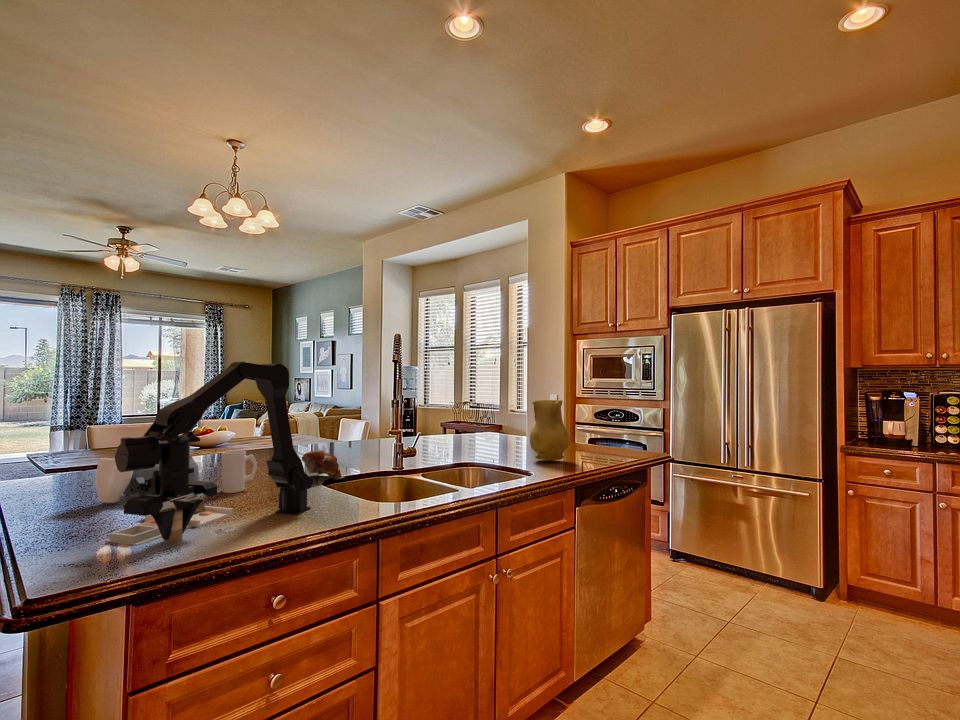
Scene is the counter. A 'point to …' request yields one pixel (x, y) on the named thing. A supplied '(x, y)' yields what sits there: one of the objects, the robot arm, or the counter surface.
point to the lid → (200, 507)
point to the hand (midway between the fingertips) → (173, 536)
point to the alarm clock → (149, 474)
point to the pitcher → (549, 430)
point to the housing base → (205, 515)
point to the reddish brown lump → (322, 464)
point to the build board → (138, 533)
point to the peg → (176, 527)
